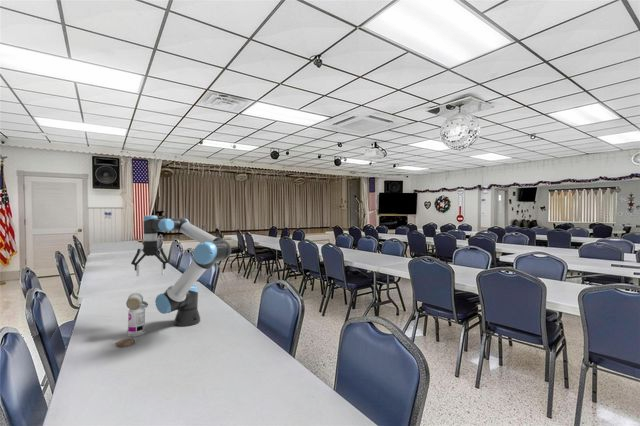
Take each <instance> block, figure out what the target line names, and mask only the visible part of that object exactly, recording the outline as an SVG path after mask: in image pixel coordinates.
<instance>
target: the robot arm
mask: <svg viewBox="0 0 640 426" xmlns="http://www.w3.org/2000/svg"><path fill="white" fill-rule="evenodd" d="M142 222H143V223H142V224H143V227H142V228H143V236H142V237H143V239H142V240H143V243H142V244H143V247H142V248H138V249H137V251H136V254H135V255H134V257H133V259H132V261H131V262H130V263H131V265H134V271H135V272H136V277H139V276H140V264H139V263H140V262H141V261H142V260H143V259H144V258H145V257H146V256H147V257H153V256H154V257H156V258H157V259H158V260H159V261H160V262H161V263H162V264H161V276H164V271H165V270H166V264H168V263H169V259H168V257H167V256H166V253H165V252H164V248H163V247H160V248H158V241H157V240H158V232H172V231H173V232H174V231H175V232H176V231H178V232H180V233H182V234H183V235H185V236H186V237H189V238H191V239H193V240H194V241H196V242H198V243H199V244H196V246H195V248H194V249H193V258H192V261H191V263H190V264H189V265H188V267H187V268H186V269H185V271H183V273H182V274H181V276H180V277H179V278H178V280H177V281H176V282H175V283H174V284H173V285H170V286H169V287H168V288H167V289H166V290H165V291H164V292H163V293H160V294H158V295H157V296H156V297H155V301H154V302H155V307H156V310H157V311H158V312H159V313H160V314H163V315H164V314H170V313H172V312H175V311H176V313H175V318H174V321H173V322H174V325H175V326H178V327H189V326H194V325H197V324H199V323H200V322H201V316H200V312H199V308H198V302H199V301H198V300H199V298H198V297H199V291H198V287H197V285H195V284H196V283H197V281H198V280H199V279H200V277H201V276H202V275H203V274H204V273H205V271H206V270H211V268H212V267H213V266H214V265H215V264H216V263H217V262H221V261H225V260H227V259H228V258H229V257H230V256H231V253H232V246H231V244H230V243H229V242H228V241H227V240H226V239H223V238H222V237H220V236H217V237H216V236H214V235H213V234H210V233H209V232H207V231H205V230H203V229H201V228H200V227H198V226H195V225H193V224H192V223H191V222H190V221H189V219H187V218H183V217H182V218H158V215H144V216H143V221H142ZM158 251H159V253H160V254H161V255H162V256H160V255H159V254H158ZM141 253H143V254H142V255H141V256H140V257H139V255H140V254H141ZM138 257H139V259H138ZM162 257H163V258H162ZM137 259H138V260H137ZM198 322H199V323H198ZM196 323H197V324H196Z"/></svg>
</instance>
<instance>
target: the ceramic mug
mask: <svg viewBox="0 0 640 426" xmlns="http://www.w3.org/2000/svg"><path fill="white" fill-rule="evenodd" d="M125 303H126V304H125V305H126V307H127V309H129V310H130V309H132V310H133V309H137V308H138V307H143V308H145V309H146V308H148V307H149V303H148V302H146V301H144V297H143V295H142V294H141V293H138V292H133V293H131V294H130V295H129V296H128V298H127V300H126V302H125Z"/></svg>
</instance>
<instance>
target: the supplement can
mask: <svg viewBox="0 0 640 426" xmlns="http://www.w3.org/2000/svg"><path fill="white" fill-rule="evenodd" d="M127 312H128V316H127V317H128V321H127V323H128V324H127V325H128V326H127V330H128V331H127V335H128V336H129V337H131V338H132V337H133V338H134V337H135V338H136V337H140V336H143V335H144V334H145V333H146V308H143V307H138V308H137V309H133V310H132V309H129V310H128V311H127Z"/></svg>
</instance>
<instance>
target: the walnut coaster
mask: <svg viewBox="0 0 640 426" xmlns="http://www.w3.org/2000/svg"><path fill="white" fill-rule="evenodd" d="M136 342H137V341H136V339H135V338H123V339H120V340H117V341H116V342H115V347H116V348H127V347H131V346H134V345H135V344H136Z"/></svg>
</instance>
